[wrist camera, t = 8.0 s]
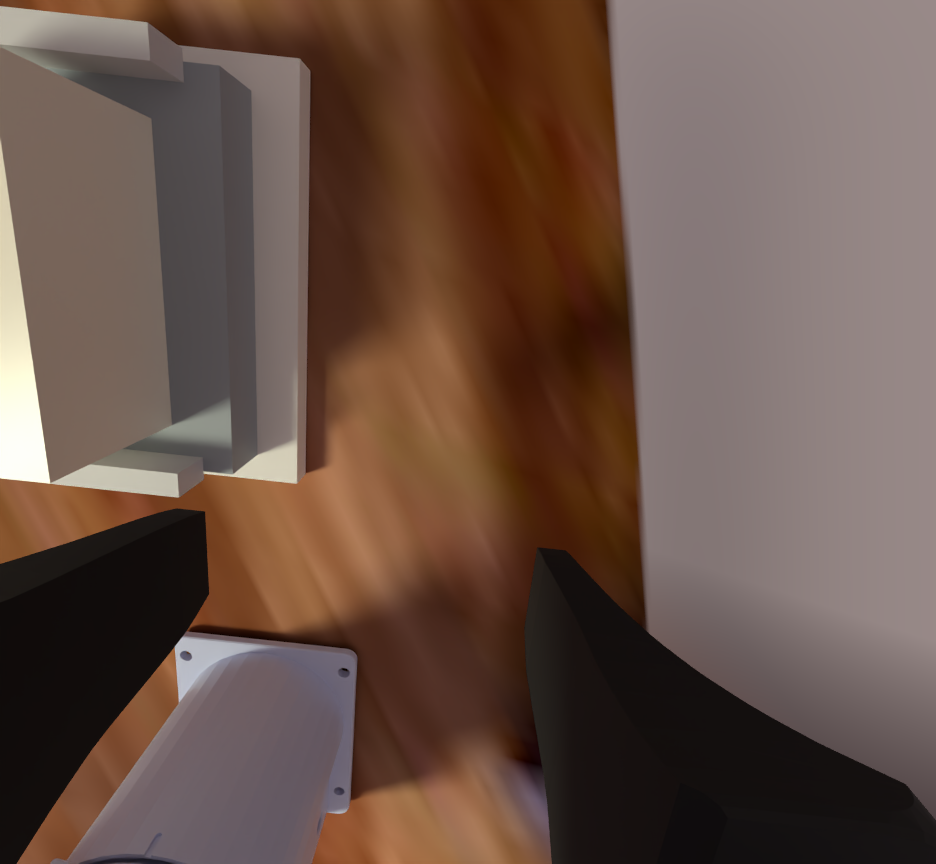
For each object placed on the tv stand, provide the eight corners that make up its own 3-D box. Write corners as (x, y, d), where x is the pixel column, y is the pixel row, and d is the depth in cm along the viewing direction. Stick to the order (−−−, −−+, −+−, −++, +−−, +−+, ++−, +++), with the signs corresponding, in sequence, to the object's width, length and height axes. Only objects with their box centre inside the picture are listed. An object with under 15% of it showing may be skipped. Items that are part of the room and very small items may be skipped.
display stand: (305, 474, 21) (258, 526, 16) (32, 444, 21) (-87, 489, 16) (310, 71, 17) (249, -1, 12) (-30, 34, 17) (-211, -52, 12)
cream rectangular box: (172, 425, 17) (50, 483, 12) (51, 412, 17) (-118, 465, 12) (151, 118, 14) (-14, 40, 10) (9, 103, 14) (-228, 16, 10)
